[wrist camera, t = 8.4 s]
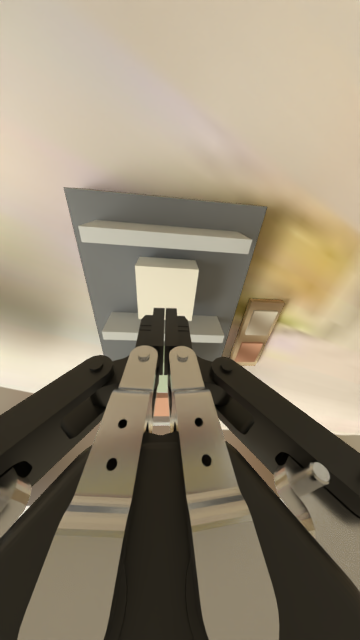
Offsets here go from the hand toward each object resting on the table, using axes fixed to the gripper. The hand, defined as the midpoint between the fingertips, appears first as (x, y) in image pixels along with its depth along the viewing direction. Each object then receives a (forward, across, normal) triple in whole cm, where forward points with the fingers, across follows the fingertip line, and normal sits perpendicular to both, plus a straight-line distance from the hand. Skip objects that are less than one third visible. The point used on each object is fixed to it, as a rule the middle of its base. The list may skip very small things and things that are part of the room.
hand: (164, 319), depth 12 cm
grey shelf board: (+10, 0, +9) cm, 14 cm away
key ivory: (+9, 0, 0) cm, 9 cm away
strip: (+10, -13, +10) cm, 19 cm away
